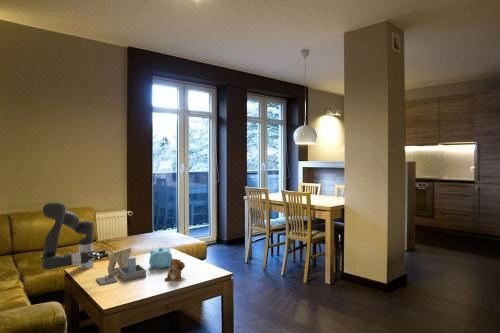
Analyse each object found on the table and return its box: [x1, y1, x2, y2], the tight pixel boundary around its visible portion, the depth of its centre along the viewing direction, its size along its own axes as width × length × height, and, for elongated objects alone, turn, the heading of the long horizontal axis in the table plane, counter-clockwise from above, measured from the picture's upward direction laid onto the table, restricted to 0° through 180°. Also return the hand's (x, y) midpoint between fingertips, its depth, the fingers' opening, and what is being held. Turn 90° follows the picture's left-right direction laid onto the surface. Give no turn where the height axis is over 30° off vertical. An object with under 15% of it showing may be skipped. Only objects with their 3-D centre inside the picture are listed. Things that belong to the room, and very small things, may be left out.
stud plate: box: [96, 274, 118, 286], centre depth 223 cm, size 12×10×4 cm
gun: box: [107, 247, 132, 276], centre depth 245 cm, size 24×3×15 cm, turn 168°
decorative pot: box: [148, 247, 174, 270], centre depth 252 cm, size 16×16×14 cm
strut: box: [128, 256, 137, 273], centre depth 232 cm, size 4×4×12 cm
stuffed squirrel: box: [164, 258, 186, 282], centre depth 227 cm, size 10×14×13 cm
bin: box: [117, 264, 147, 282], centre depth 232 cm, size 15×14×4 cm
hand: (106, 253), depth 225 cm, fingers open, 8 cm apart
